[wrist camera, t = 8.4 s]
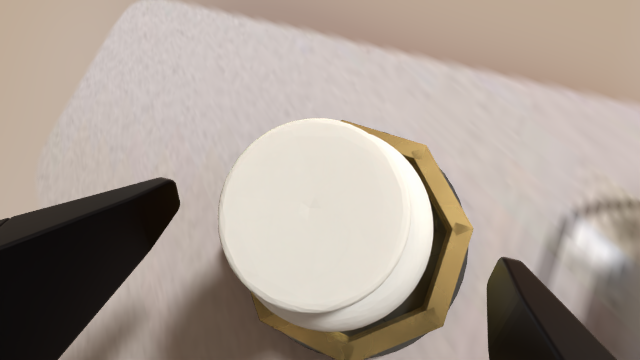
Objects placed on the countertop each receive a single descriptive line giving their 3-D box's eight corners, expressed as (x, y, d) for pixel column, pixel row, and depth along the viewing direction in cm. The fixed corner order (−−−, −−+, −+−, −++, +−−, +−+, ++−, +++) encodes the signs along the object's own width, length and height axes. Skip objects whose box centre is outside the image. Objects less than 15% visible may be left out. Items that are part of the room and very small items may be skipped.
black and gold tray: (508, 298, 15) (530, 304, 13) (289, 389, 16) (276, 409, 14) (398, 102, 18) (402, 82, 16) (222, 184, 19) (203, 175, 17)
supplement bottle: (303, 181, 17) (208, 77, 7) (408, 189, 16) (462, 82, 6) (288, 288, 16) (151, 335, 6) (402, 305, 15) (455, 395, 5)
